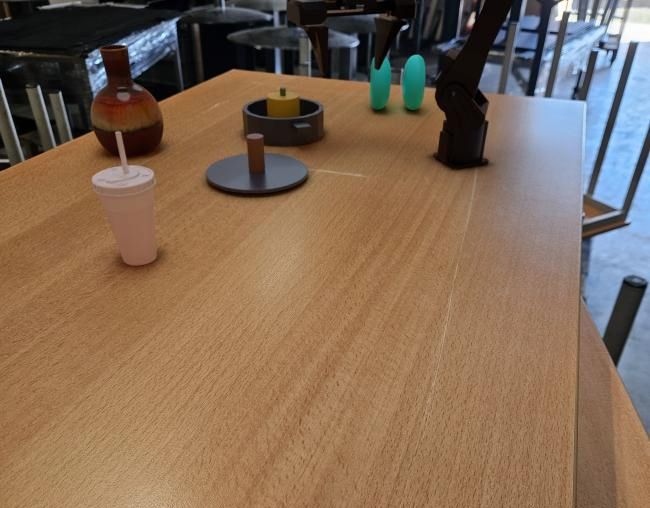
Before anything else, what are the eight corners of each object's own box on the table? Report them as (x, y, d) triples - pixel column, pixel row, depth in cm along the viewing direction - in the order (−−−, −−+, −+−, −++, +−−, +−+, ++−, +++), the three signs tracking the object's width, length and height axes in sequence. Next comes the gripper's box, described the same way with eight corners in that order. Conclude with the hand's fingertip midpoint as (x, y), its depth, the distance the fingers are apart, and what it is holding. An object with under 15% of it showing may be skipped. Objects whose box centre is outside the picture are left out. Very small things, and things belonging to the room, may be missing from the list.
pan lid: (286, 154, 93) (285, 116, 90) (323, 187, 82) (324, 145, 78) (195, 167, 88) (190, 127, 85) (222, 204, 77) (217, 160, 74)
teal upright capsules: (422, 116, 111) (428, 60, 105) (371, 115, 111) (374, 60, 105) (416, 102, 119) (421, 50, 113) (368, 101, 119) (371, 49, 113)
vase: (181, 145, 96) (166, 45, 87) (130, 165, 89) (109, 57, 80) (135, 134, 101) (117, 38, 92) (83, 152, 94) (58, 49, 85)
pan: (300, 114, 112) (299, 90, 109) (342, 144, 97) (343, 117, 95) (230, 122, 107) (228, 97, 104) (264, 155, 93) (263, 127, 90)
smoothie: (180, 251, 66) (160, 129, 58) (144, 276, 62) (117, 148, 54) (136, 240, 69) (111, 121, 60) (98, 264, 64) (65, 138, 56)
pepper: (293, 124, 105) (292, 82, 101) (304, 133, 101) (304, 90, 96) (264, 128, 103) (261, 85, 99) (274, 137, 99) (272, 93, 95)
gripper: (385, -52, 88) (379, 57, 98) (271, -51, 82) (276, 66, 91) (423, -49, 80) (413, 71, 89) (300, -46, 74) (302, 82, 83)
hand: (350, 72), depth 88 cm, fingers open, 9 cm apart
